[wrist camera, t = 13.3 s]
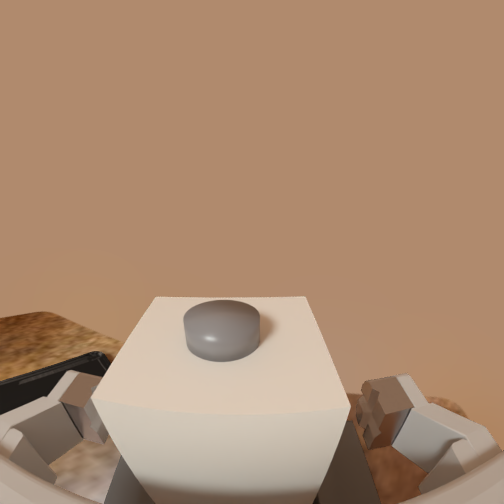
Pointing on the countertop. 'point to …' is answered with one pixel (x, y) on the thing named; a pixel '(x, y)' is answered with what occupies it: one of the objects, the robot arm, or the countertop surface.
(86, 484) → the countertop surface
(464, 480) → the robot arm
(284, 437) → the cream square peg
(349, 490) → the dock
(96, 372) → the phone
